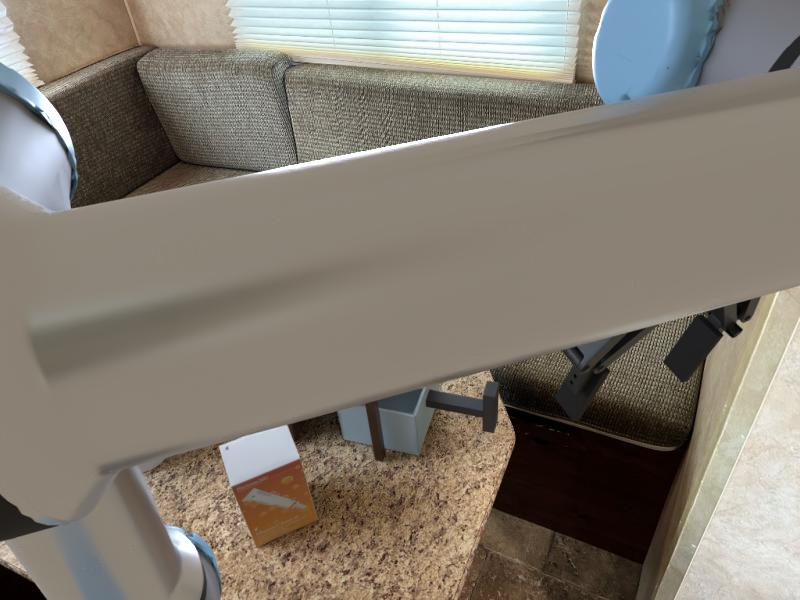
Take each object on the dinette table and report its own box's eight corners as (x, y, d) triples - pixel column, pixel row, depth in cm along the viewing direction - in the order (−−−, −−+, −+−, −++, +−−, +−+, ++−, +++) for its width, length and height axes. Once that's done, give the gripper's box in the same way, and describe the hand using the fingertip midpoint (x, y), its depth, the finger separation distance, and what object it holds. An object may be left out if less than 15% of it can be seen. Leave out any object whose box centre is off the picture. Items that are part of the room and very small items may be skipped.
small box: (256, 549, 73) (229, 488, 65) (244, 507, 78) (216, 444, 69) (320, 521, 75) (300, 457, 67) (304, 481, 80) (284, 418, 72)
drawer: (503, 407, 87) (505, 359, 80) (487, 470, 79) (488, 423, 73) (369, 382, 92) (362, 336, 86) (343, 439, 84) (332, 393, 78)
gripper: (666, 262, 34) (540, 463, 48) (903, 208, 45) (742, 386, 59) (584, 187, 38) (491, 391, 53) (817, 154, 49) (687, 331, 63)
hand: (623, 389), depth 56 cm, fingers open, 13 cm apart
